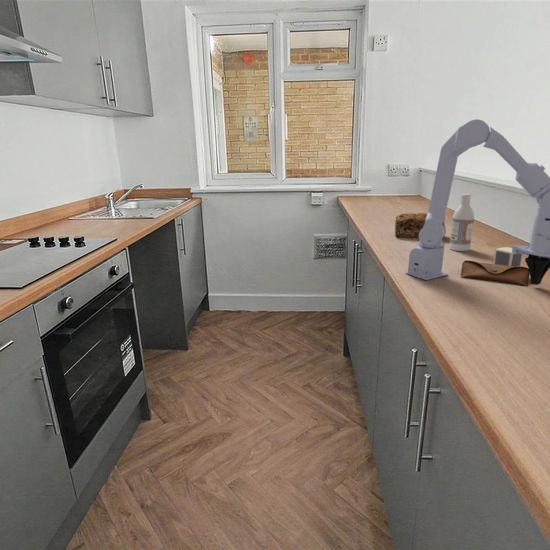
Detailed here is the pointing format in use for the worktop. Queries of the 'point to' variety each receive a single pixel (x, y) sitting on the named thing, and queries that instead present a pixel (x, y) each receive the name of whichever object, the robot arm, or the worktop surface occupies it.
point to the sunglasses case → (495, 273)
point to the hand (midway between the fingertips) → (535, 283)
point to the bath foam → (462, 225)
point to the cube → (507, 257)
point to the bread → (409, 225)
